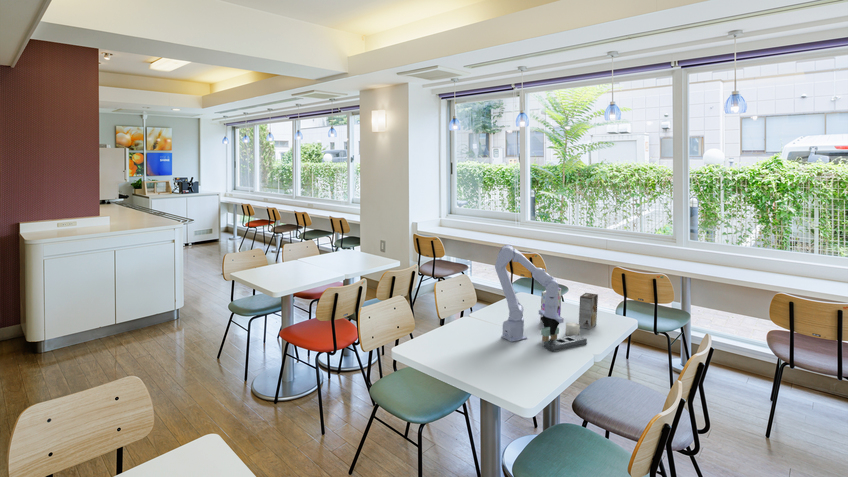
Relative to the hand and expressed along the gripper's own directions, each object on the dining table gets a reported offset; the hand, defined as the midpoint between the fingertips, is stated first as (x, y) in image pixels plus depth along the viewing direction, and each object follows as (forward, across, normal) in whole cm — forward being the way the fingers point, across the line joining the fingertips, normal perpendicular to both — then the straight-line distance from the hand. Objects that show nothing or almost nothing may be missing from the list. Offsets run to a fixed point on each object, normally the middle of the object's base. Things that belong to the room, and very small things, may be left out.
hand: (549, 333), depth 215 cm
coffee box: (+4, +7, -31) cm, 32 cm away
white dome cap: (+3, +1, -15) cm, 15 cm away
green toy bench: (+3, 0, 0) cm, 3 cm away
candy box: (+4, +22, -20) cm, 30 cm away
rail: (+3, -8, -2) cm, 9 cm away
